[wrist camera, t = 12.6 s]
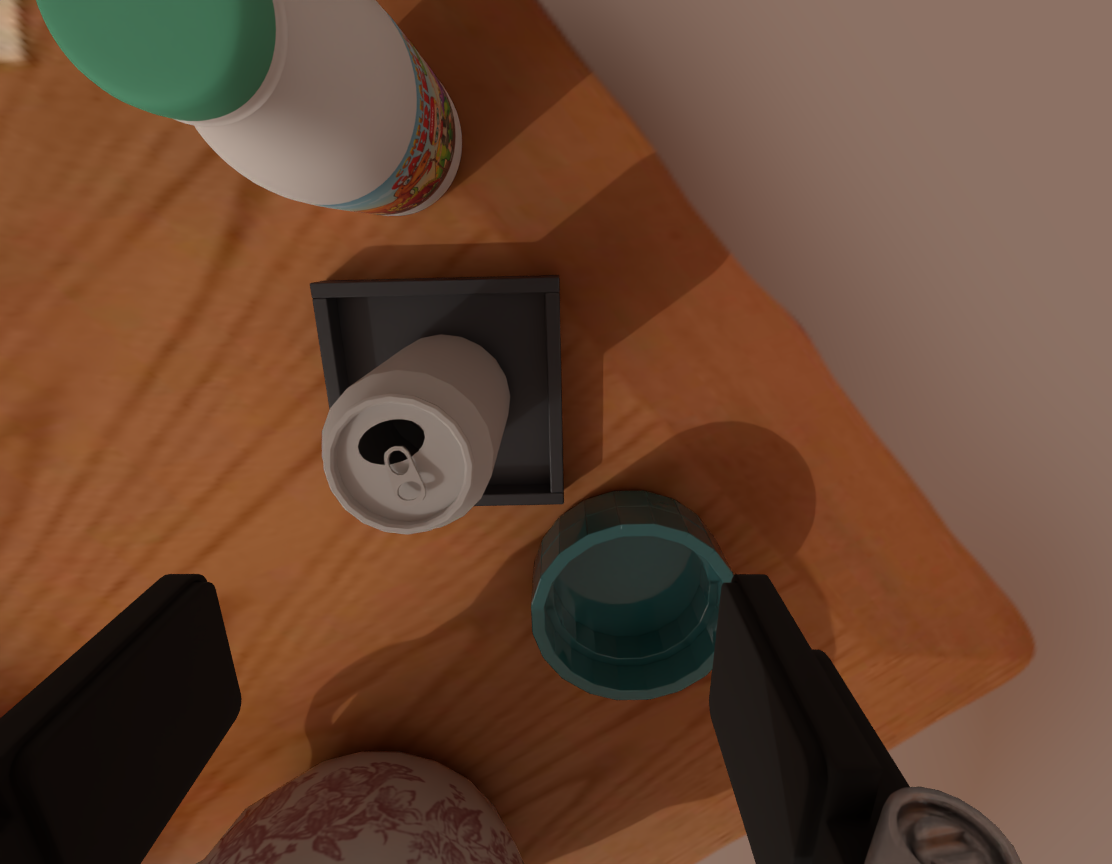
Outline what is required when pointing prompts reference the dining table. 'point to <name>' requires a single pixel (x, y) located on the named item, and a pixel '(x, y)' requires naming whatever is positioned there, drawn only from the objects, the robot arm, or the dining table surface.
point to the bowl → (628, 596)
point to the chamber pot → (370, 817)
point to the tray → (483, 318)
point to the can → (417, 435)
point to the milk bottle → (280, 91)
